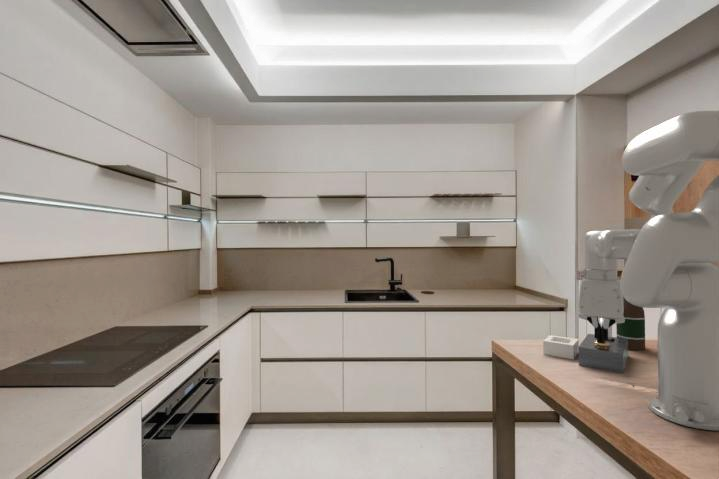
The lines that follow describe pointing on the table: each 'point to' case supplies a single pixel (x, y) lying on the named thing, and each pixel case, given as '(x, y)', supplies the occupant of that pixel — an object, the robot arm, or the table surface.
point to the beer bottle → (632, 326)
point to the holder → (561, 347)
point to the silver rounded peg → (608, 330)
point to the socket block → (604, 354)
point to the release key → (602, 344)
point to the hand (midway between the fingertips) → (601, 341)
